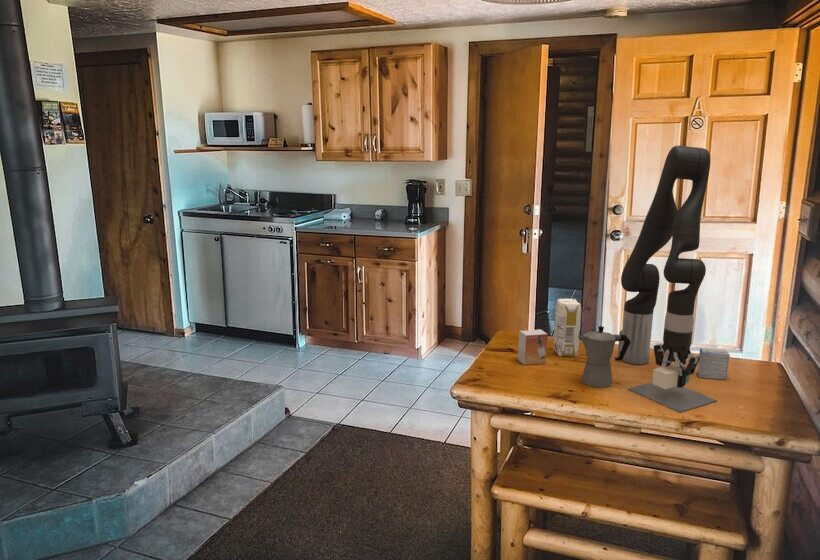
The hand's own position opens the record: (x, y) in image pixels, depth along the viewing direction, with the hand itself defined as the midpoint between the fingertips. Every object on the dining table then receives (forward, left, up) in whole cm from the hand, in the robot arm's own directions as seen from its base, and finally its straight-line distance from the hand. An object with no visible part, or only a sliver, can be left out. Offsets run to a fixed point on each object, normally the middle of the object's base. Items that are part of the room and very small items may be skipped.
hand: (672, 383), depth 175 cm
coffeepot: (-17, -11, -4) cm, 21 cm away
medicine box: (-4, +24, -4) cm, 25 cm away
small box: (-41, -18, -4) cm, 45 cm away
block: (0, -6, +3) cm, 7 cm away
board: (0, 0, -4) cm, 4 cm away
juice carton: (-42, -2, -4) cm, 42 cm away
